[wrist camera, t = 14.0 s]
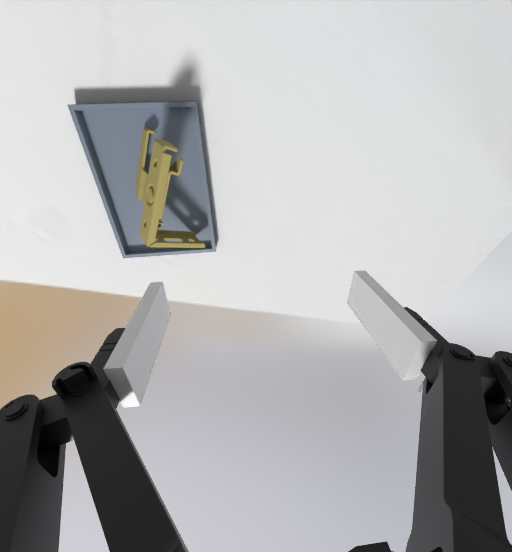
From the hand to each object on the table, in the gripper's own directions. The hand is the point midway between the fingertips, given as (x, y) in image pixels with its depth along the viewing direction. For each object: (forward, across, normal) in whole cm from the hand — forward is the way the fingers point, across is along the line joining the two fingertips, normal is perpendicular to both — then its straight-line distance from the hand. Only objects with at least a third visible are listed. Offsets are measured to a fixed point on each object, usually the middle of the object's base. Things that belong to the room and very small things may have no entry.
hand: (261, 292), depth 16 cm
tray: (+30, -14, +2) cm, 33 cm away
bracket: (+28, -10, +2) cm, 29 cm away
